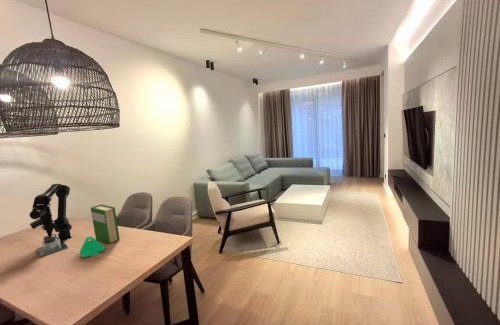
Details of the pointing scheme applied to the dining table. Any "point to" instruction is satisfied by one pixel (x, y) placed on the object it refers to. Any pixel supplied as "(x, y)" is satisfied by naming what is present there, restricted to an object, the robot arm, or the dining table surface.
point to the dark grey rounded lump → (50, 238)
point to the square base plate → (51, 247)
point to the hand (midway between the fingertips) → (49, 236)
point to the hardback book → (105, 223)
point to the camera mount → (91, 247)
